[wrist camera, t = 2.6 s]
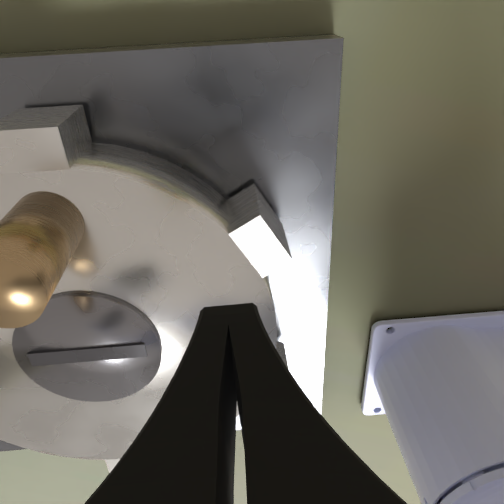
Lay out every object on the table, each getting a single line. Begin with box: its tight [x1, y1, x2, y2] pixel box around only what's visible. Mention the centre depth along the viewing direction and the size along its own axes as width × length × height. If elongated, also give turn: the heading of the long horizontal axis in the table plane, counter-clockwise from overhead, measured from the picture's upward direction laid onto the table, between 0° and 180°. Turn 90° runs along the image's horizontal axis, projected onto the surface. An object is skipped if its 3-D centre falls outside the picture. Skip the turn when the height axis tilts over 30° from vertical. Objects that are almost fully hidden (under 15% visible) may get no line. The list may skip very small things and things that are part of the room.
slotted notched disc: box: [0, 105, 293, 473], centre depth 18 cm, size 17×19×7 cm
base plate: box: [0, 34, 343, 451], centre depth 22 cm, size 22×22×2 cm
